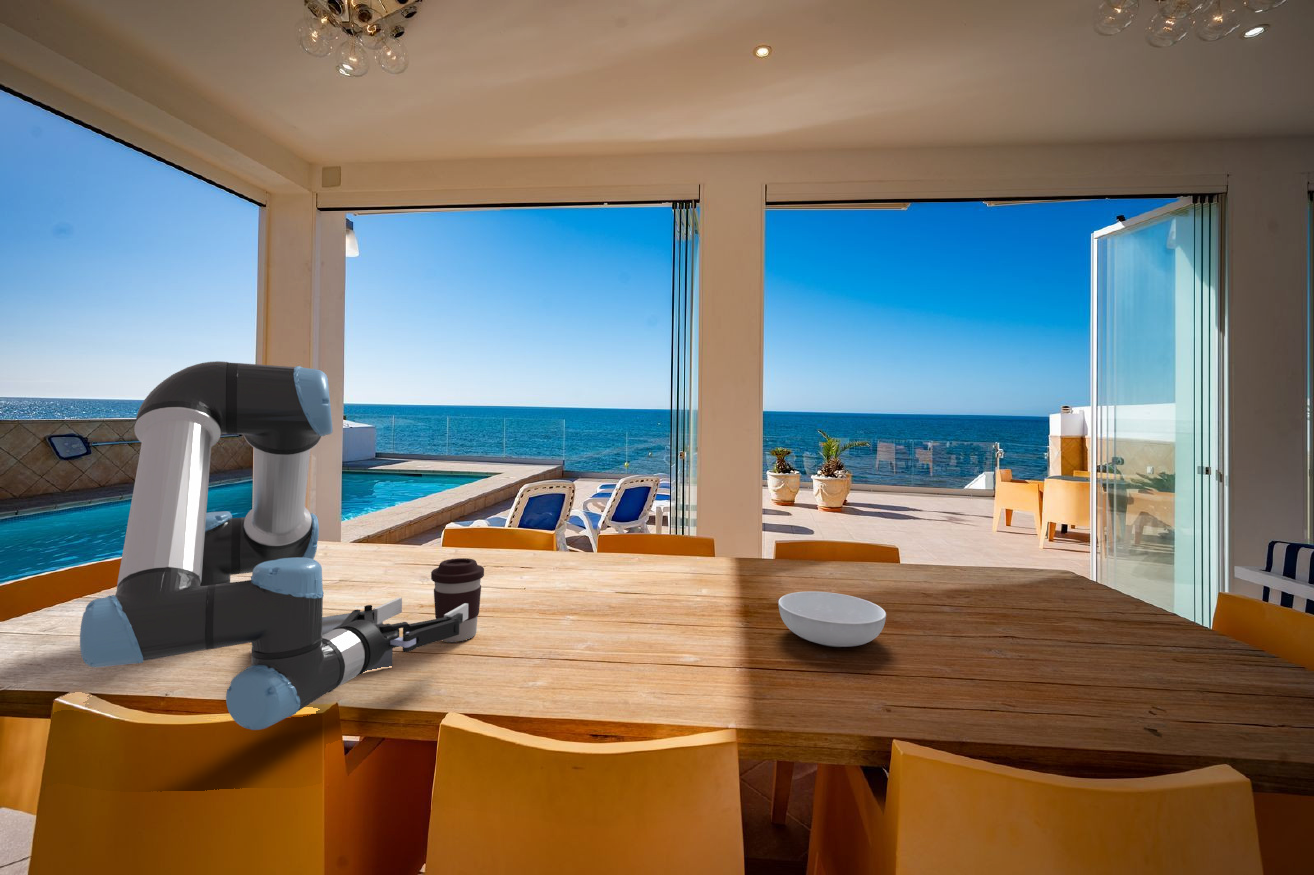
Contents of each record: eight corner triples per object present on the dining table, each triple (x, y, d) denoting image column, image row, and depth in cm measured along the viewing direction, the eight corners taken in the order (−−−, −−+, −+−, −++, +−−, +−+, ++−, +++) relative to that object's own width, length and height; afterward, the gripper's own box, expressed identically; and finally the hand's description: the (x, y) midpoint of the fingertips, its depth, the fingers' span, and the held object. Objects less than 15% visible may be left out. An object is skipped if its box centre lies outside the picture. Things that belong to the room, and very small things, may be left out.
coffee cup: (472, 646, 104) (473, 568, 104) (421, 645, 104) (422, 567, 104) (489, 628, 114) (490, 556, 113) (442, 627, 114) (443, 555, 114)
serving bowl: (896, 665, 99) (897, 627, 99) (778, 653, 103) (779, 617, 103) (874, 625, 119) (875, 594, 119) (776, 617, 123) (777, 587, 123)
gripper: (273, 670, 82) (373, 622, 103) (421, 688, 77) (494, 634, 98) (273, 620, 82) (373, 582, 103) (421, 635, 77) (495, 592, 98)
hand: (433, 607), depth 100 cm, fingers open, 13 cm apart
